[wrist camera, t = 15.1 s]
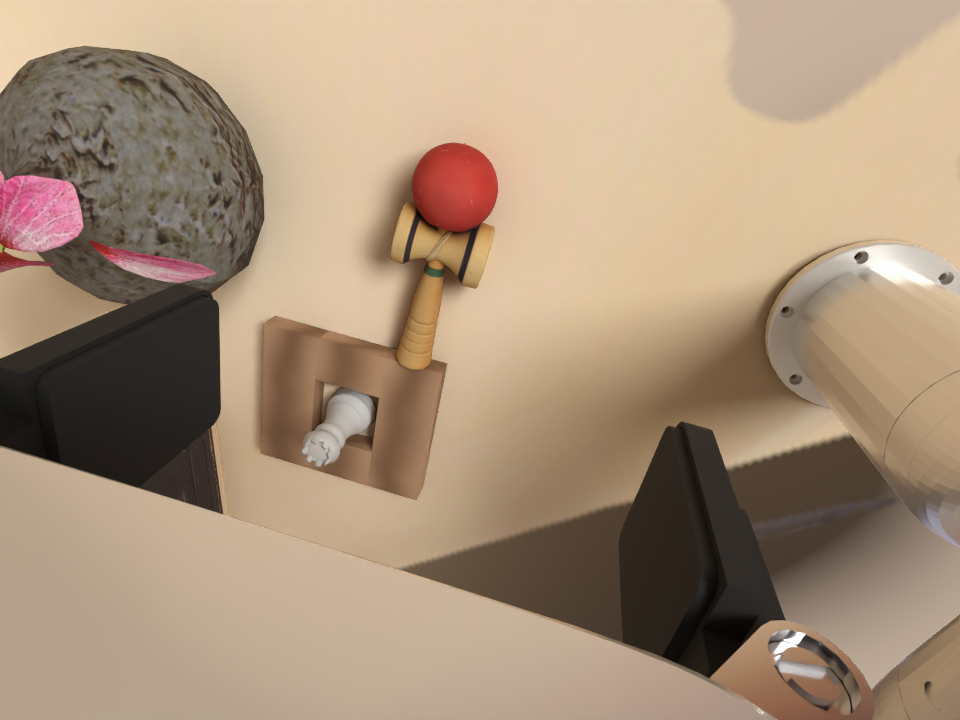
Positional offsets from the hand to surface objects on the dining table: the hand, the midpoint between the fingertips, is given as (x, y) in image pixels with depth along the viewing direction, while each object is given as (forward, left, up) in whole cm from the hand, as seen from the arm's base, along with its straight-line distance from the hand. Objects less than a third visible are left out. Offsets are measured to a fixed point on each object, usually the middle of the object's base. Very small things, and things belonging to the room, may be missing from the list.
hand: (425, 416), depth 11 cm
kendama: (+7, +7, -33) cm, 34 cm away
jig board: (+13, +23, -32) cm, 42 cm away
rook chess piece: (+13, +23, -32) cm, 42 cm away
